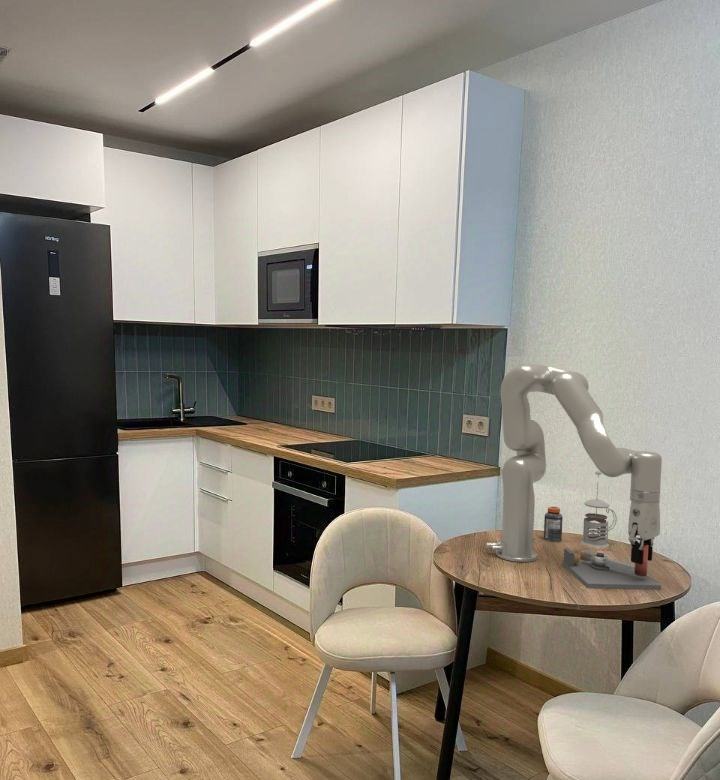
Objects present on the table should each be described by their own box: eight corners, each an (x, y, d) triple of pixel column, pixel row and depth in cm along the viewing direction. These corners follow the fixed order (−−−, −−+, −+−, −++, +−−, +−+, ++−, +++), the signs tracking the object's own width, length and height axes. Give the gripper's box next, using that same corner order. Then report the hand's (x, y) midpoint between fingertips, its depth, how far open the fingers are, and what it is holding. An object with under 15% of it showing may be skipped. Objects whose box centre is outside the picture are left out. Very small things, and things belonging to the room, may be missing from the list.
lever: (642, 578, 174) (644, 546, 174) (578, 560, 189) (579, 531, 188) (649, 575, 177) (651, 544, 177) (586, 557, 192) (587, 529, 191)
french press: (575, 539, 220) (578, 468, 219) (607, 540, 221) (611, 469, 219) (586, 548, 210) (589, 473, 209) (620, 548, 211) (624, 474, 210)
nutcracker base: (587, 587, 172) (588, 568, 172) (562, 564, 192) (563, 547, 192) (660, 589, 172) (661, 570, 172) (627, 565, 192) (628, 548, 192)
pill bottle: (549, 536, 223) (550, 504, 223) (564, 540, 219) (566, 507, 218) (540, 539, 219) (541, 506, 219) (556, 543, 215) (557, 510, 214)
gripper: (644, 502, 168) (640, 570, 168) (671, 495, 179) (668, 559, 180) (617, 497, 173) (613, 563, 174) (645, 490, 184) (641, 552, 185)
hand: (641, 560), depth 177 cm, fingers open, 4 cm apart
